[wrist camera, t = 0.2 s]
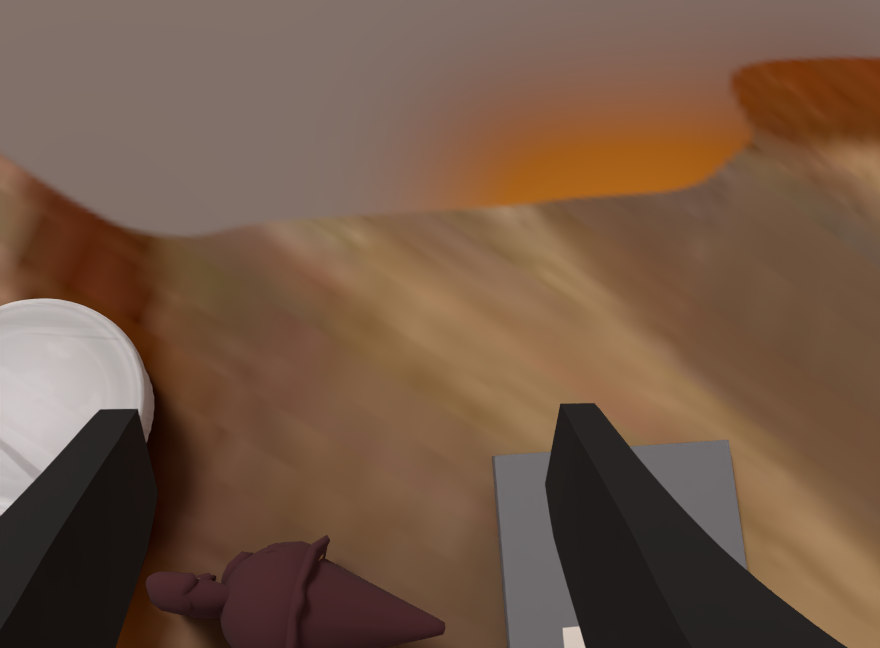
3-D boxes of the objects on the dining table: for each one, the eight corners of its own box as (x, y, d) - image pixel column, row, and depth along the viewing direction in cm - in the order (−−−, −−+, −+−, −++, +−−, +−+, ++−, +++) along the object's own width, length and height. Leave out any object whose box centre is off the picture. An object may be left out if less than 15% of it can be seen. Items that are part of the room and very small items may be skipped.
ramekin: (-54, 503, 42) (-115, 506, 37) (-8, 307, 44) (-59, 284, 39) (151, 524, 42) (120, 530, 37) (186, 330, 45) (161, 310, 40)
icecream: (456, 541, 37) (158, 501, 38) (437, 709, 34) (110, 662, 34) (451, 565, 43) (195, 530, 44) (434, 708, 40) (158, 669, 41)
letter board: (766, 766, 42) (776, 773, 41) (519, 793, 41) (522, 801, 40) (721, 440, 46) (728, 439, 45) (492, 456, 44) (494, 455, 43)
